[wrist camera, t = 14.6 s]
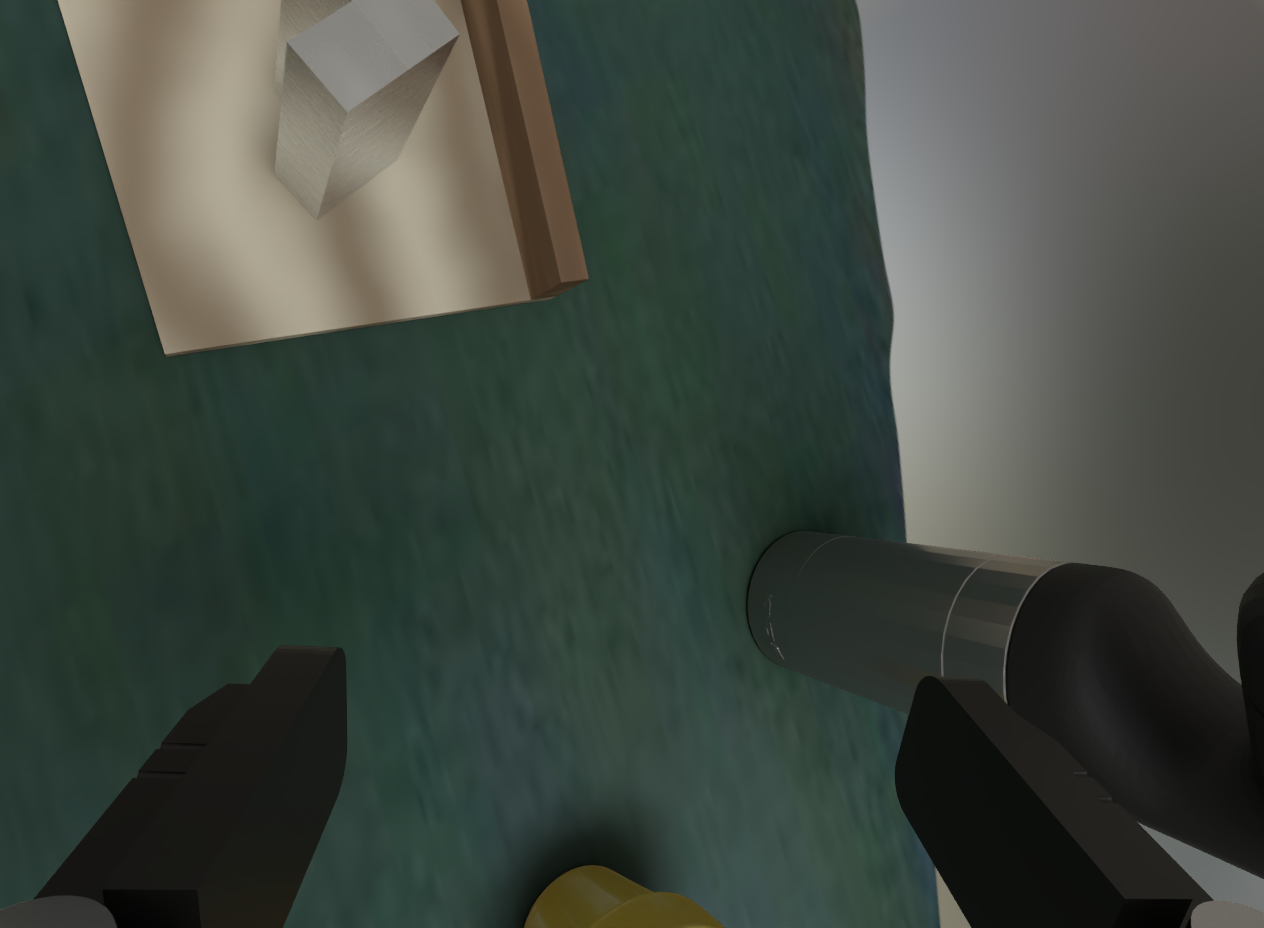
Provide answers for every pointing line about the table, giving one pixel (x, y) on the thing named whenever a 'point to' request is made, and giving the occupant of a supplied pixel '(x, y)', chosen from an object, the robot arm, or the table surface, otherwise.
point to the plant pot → (612, 904)
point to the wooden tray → (358, 226)
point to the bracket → (352, 90)
